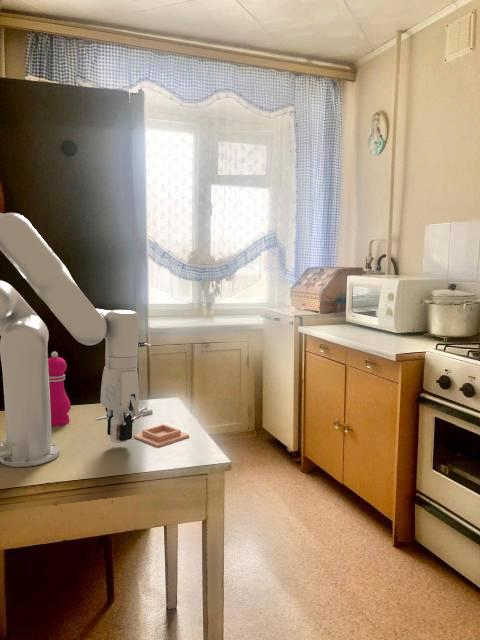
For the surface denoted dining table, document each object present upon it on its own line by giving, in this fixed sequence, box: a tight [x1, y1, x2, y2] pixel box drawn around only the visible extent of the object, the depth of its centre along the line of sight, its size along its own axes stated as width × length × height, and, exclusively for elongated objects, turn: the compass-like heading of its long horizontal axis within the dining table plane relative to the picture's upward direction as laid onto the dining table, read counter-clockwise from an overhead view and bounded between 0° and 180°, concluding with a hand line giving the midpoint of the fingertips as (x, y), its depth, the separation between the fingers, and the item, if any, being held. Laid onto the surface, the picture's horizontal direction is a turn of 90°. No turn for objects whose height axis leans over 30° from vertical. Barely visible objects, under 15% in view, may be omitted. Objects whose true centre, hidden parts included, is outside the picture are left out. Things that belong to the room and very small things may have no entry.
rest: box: [133, 424, 190, 448], centre depth 131 cm, size 10×10×2 cm
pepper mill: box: [48, 351, 72, 427], centre depth 142 cm, size 7×7×20 cm
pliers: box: [95, 406, 153, 421], centre depth 147 cm, size 10×2×15 cm
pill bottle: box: [109, 409, 129, 444], centre depth 124 cm, size 4×4×8 cm
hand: (119, 436), depth 124 cm, fingers closed on pill bottle, 4 cm apart
